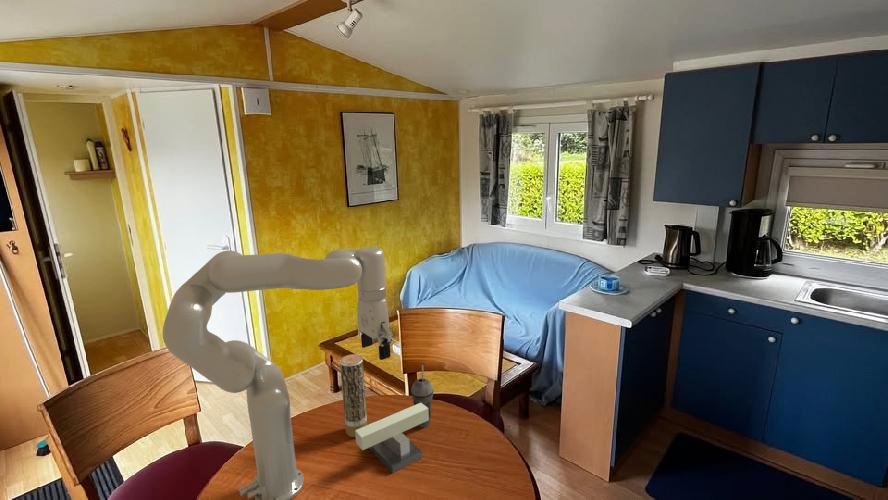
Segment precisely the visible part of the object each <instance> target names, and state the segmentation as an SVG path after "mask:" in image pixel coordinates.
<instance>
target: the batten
mask: <svg viewBox="0 0 888 500" xmlns="http://www.w3.org/2000/svg"><path fill="white" fill-rule="evenodd" d="M428 420H429V412H428V408H427V407H426V406H425V405H424V404H422V403H419V404H416V405H414V404H413V405H412V406H409V407H407V408H405V409H402V410H400V411H397V412H395V413H393V414H390V415H389V416H386V417H384V418H381V419H379V420H377V421H374V422H372V423H369V424H367V426H364V427H362V428H360V429H357V430H355V434H356V437H355V442H356V444H357V446H358V447H359V448H360V449H361V450H362V451H364V450H366V449H369V447H371V446H373V445H376V444H378V443H380V442H382V441H384V440H387V439H389V438H391V437H393V436H395V435H397V434H400V433H404V432H406V431H409V430H411V429H413V428H414V427H418V426H417V425H419V424H422V423H424V422H426V421H428Z"/></svg>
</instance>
